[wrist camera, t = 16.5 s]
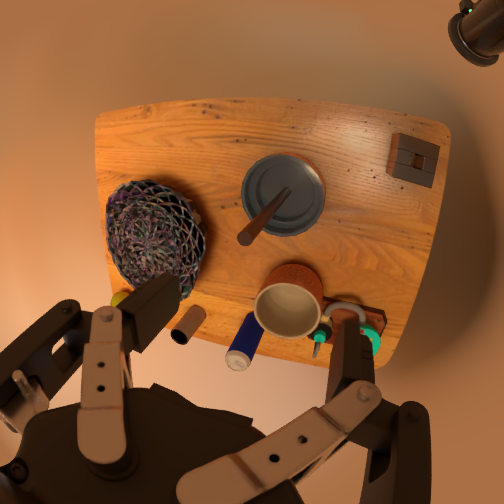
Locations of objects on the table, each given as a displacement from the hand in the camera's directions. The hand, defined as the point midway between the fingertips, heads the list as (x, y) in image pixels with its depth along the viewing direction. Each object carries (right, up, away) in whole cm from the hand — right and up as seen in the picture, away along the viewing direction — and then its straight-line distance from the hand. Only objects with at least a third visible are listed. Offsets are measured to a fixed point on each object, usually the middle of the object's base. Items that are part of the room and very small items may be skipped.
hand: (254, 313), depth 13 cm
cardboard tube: (-14, -12, +57) cm, 60 cm away
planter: (+9, -4, +47) cm, 48 cm away
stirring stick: (+6, +14, +39) cm, 42 cm away
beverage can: (+1, -13, +53) cm, 55 cm away
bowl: (+6, +14, +40) cm, 43 cm away
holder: (+28, +20, +31) cm, 46 cm away
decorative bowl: (-19, +7, +51) cm, 55 cm away
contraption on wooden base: (+21, -12, +47) cm, 52 cm away
